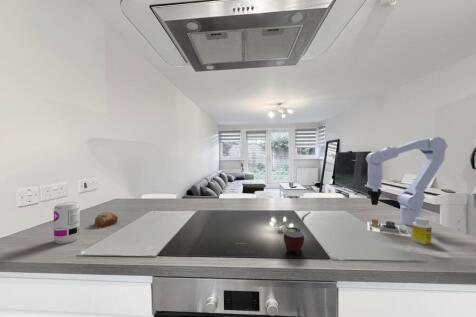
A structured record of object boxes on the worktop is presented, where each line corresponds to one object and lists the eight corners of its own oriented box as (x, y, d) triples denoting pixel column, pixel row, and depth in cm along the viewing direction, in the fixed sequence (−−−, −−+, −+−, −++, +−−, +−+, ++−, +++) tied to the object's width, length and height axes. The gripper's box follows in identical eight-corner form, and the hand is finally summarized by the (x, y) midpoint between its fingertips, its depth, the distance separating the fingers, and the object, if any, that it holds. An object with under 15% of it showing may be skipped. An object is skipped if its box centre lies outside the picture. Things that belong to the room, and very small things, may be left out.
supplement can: (54, 246, 80) (53, 207, 80) (54, 239, 86) (53, 203, 86) (80, 240, 85) (80, 203, 85) (78, 235, 92) (78, 200, 91)
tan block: (371, 224, 101) (371, 217, 101) (377, 224, 99) (377, 218, 99) (372, 225, 98) (372, 219, 98) (378, 226, 97) (378, 220, 97)
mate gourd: (280, 249, 77) (280, 208, 77) (298, 246, 80) (298, 206, 80) (292, 258, 70) (292, 213, 70) (311, 254, 73) (311, 211, 73)
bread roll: (96, 230, 108) (88, 217, 105) (117, 218, 114) (109, 205, 112) (100, 235, 101) (91, 222, 98) (122, 222, 107) (114, 209, 104)
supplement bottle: (428, 249, 77) (428, 221, 77) (409, 244, 81) (409, 218, 81) (433, 246, 80) (433, 219, 80) (415, 241, 84) (415, 215, 84)
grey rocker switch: (398, 226, 94) (398, 224, 93) (405, 227, 92) (405, 225, 92) (400, 230, 90) (400, 228, 90) (407, 231, 89) (407, 229, 88)
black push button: (385, 225, 95) (385, 220, 95) (394, 226, 93) (394, 221, 93) (386, 227, 92) (386, 222, 92) (395, 228, 90) (395, 223, 90)
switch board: (367, 224, 105) (367, 218, 105) (405, 230, 97) (405, 223, 97) (367, 233, 93) (367, 227, 93) (411, 240, 85) (411, 233, 85)
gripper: (365, 175, 112) (364, 200, 113) (365, 177, 100) (365, 205, 100) (380, 175, 109) (380, 201, 109) (383, 178, 96) (382, 207, 96)
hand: (374, 203), depth 104 cm, fingers open, 5 cm apart
